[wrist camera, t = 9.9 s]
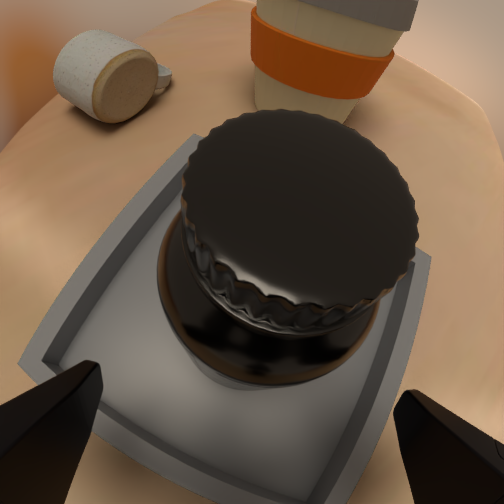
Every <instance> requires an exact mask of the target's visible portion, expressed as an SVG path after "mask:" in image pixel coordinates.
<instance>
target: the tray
mask: <svg viewBox="0 0 504 504" xmlns="http://www.w3.org/2000/svg"><path fill="white" fill-rule="evenodd" d="M202 139H203V137H201V136H199V135H196V134H193V135H192V136H191V137H190V138H189V139H188V140H187V141H186V142H185V143H184V144H183V145H182V146H181V147H180V148H179V149H178V150H177V151H176V152H175V153H174V154H173V155H172V156H171V157H170V158H169V159H168V160H167V161H166V162H165V163H164V164H163V165H162V166H161V167H160V168H159V169H158V170H157V171H156V173H155V174H154V175H153V176H152V177H151V178H150V179H149V180H148V181H147V182H146V183H145V185H144V186H143V187H142V188H141V189H140V190H139V191H138V192H137V194H136V195H135V196H134V197H133V198H132V199H131V200H130V202H129V203H128V204H127V205H126V206H125V208H124V209H123V210H122V211H121V212H120V213H119V215H118V216H117V217H116V218H115V220H114V221H113V222H112V223H111V224H110V226H109V227H108V228H107V229H106V231H105V232H104V233H103V234H102V236H101V237H100V238H99V240H98V241H97V242H96V243H95V245H94V246H93V247H92V249H91V250H90V251H89V253H88V254H87V255H86V257H85V258H84V259H83V261H82V262H81V263H80V265H79V266H78V268H77V269H76V270H75V272H74V273H73V275H72V276H71V277H70V279H69V280H68V282H67V283H66V285H65V286H64V288H63V289H62V291H61V292H60V294H59V295H58V297H57V298H56V300H55V301H54V303H53V304H52V306H51V307H50V309H49V310H48V312H47V314H46V315H45V317H44V318H43V320H42V322H41V323H40V325H39V327H38V328H37V330H36V332H35V333H34V335H33V337H32V338H31V340H30V342H29V344H28V345H27V347H26V349H25V351H24V353H23V354H22V356H21V358H20V360H19V362H18V365H19V366H20V367H21V368H22V369H23V370H24V371H25V372H26V373H27V374H28V375H29V376H30V378H31V379H32V380H33V381H34V382H36V383H37V384H38V385H39V384H41V383H43V382H45V381H47V380H49V379H51V378H52V377H54V376H56V375H58V374H60V373H62V372H63V371H65V370H67V369H69V368H71V367H73V366H74V365H76V364H78V363H80V362H82V361H83V360H91V361H95V362H98V363H99V364H100V367H101V372H102V378H103V384H104V387H103V393H102V396H101V399H100V403H99V406H98V409H97V413H96V416H95V420H94V424H93V427H92V432H94V433H95V434H96V435H98V436H99V437H101V438H102V439H103V440H105V441H106V442H108V443H109V444H110V445H112V446H113V447H115V448H116V449H118V450H119V451H121V452H122V453H124V454H125V455H127V456H128V457H130V458H132V459H133V460H135V461H136V462H138V463H140V464H141V465H143V466H145V467H146V468H148V469H150V470H151V471H153V472H155V473H157V474H159V475H160V476H162V477H164V478H166V479H168V480H170V481H172V482H173V483H175V484H177V485H179V486H181V487H183V488H185V489H187V490H189V491H192V492H194V493H196V494H198V495H200V496H202V497H205V498H207V499H209V500H211V501H214V502H216V503H219V504H346V503H347V501H348V499H349V498H350V496H351V494H352V492H353V490H354V489H355V487H356V485H357V483H358V481H359V479H360V477H361V476H362V474H363V472H364V470H365V468H366V466H367V464H368V462H369V460H370V458H371V455H372V453H373V451H374V449H375V447H376V445H377V442H378V440H379V438H380V436H381V433H382V431H383V429H384V426H385V424H386V421H387V419H388V416H389V414H390V411H391V409H392V406H393V404H394V401H395V398H396V395H397V393H398V390H399V387H400V384H401V381H402V378H403V375H404V372H405V369H406V366H407V362H408V359H409V356H410V352H411V349H412V345H413V342H414V338H415V334H416V331H417V327H418V323H419V318H420V314H421V310H422V305H423V301H424V296H425V291H426V286H427V281H428V275H429V269H430V263H431V256H429V255H428V254H426V253H425V252H423V251H421V250H420V249H418V248H417V247H415V249H416V255H415V257H414V258H413V259H412V260H411V261H410V262H409V266H408V270H407V273H406V274H405V276H404V277H403V278H402V279H400V280H399V281H398V282H396V284H395V286H394V288H393V289H392V290H391V292H390V293H388V294H387V295H386V296H384V297H383V298H381V301H380V307H379V310H378V314H377V317H376V320H375V322H374V325H373V327H372V329H371V331H370V333H369V335H368V336H367V338H366V339H365V341H364V342H363V344H362V345H361V347H360V348H359V349H358V350H357V351H356V352H355V353H354V354H353V356H352V357H350V358H349V359H348V360H347V361H346V362H345V363H344V364H342V365H341V366H340V367H338V368H337V369H335V370H334V371H332V372H330V373H328V374H326V375H325V376H322V377H320V378H318V379H315V380H313V381H310V382H307V383H304V384H300V385H296V386H290V387H285V388H277V389H268V390H258V391H243V390H235V389H231V388H227V387H225V386H222V385H220V384H218V383H216V382H214V381H212V380H211V379H209V378H208V377H207V376H205V375H204V374H203V373H202V372H201V371H200V370H199V369H198V368H197V367H196V366H195V364H194V363H193V362H192V360H191V359H190V357H189V356H188V354H187V353H186V351H185V350H184V348H183V347H182V345H181V344H180V342H179V341H178V339H177V337H176V336H175V334H174V333H173V331H172V329H171V327H170V325H169V323H168V321H167V319H166V317H165V314H164V311H163V308H162V306H161V302H160V298H159V294H158V288H157V260H158V254H159V250H160V246H161V243H162V240H163V237H164V235H165V232H166V230H167V228H168V226H169V225H170V223H171V221H172V220H173V218H174V216H175V215H176V214H177V212H178V211H179V210H180V209H181V203H180V199H181V194H182V175H183V173H184V171H185V170H186V169H187V167H188V157H189V156H190V155H191V154H192V153H193V152H194V151H195V150H196V149H197V145H198V142H199V141H200V140H202Z"/></svg>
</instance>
